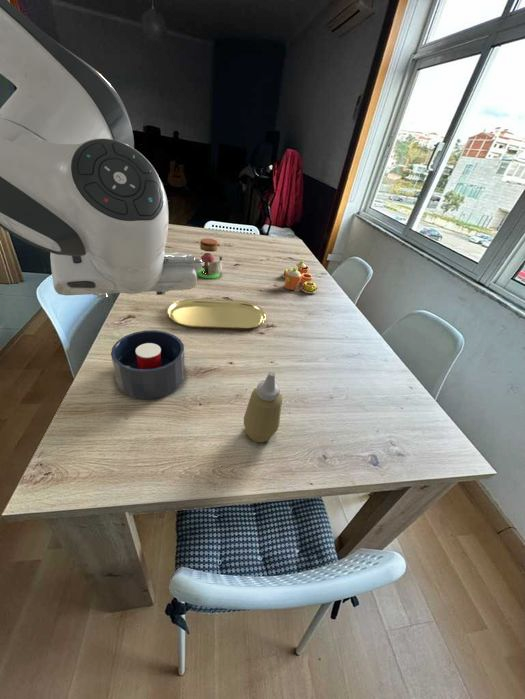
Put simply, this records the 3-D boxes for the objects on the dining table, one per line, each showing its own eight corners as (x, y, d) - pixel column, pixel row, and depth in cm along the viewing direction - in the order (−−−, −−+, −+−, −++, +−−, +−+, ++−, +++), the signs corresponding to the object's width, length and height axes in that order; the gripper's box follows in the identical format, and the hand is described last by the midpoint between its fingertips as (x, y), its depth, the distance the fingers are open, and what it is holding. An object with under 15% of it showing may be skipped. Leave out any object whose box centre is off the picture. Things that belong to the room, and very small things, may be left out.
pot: (126, 408, 67) (120, 379, 62) (110, 365, 78) (104, 337, 73) (194, 387, 76) (194, 360, 71) (172, 351, 86) (170, 325, 81)
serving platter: (169, 301, 110) (169, 297, 109) (261, 305, 117) (261, 302, 116) (165, 328, 95) (164, 324, 94) (269, 331, 102) (270, 328, 102)
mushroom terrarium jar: (190, 277, 129) (190, 242, 120) (199, 267, 139) (200, 235, 130) (217, 282, 129) (219, 248, 120) (223, 271, 139) (225, 239, 130)
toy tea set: (317, 296, 132) (323, 276, 126) (284, 292, 130) (288, 271, 125) (308, 273, 153) (313, 255, 147) (279, 270, 151) (282, 251, 146)
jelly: (142, 385, 73) (139, 359, 68) (136, 371, 77) (132, 346, 72) (165, 378, 76) (163, 354, 71) (158, 365, 80) (156, 341, 75)
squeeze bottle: (262, 413, 72) (275, 356, 61) (283, 437, 67) (300, 379, 57) (235, 426, 68) (243, 367, 57) (255, 453, 63) (267, 394, 52)
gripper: (201, 237, 43) (188, 273, 56) (34, 234, 35) (63, 276, 48) (208, 278, 43) (193, 305, 56) (40, 284, 35) (67, 313, 48)
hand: (132, 291), depth 52 cm, fingers open, 8 cm apart
